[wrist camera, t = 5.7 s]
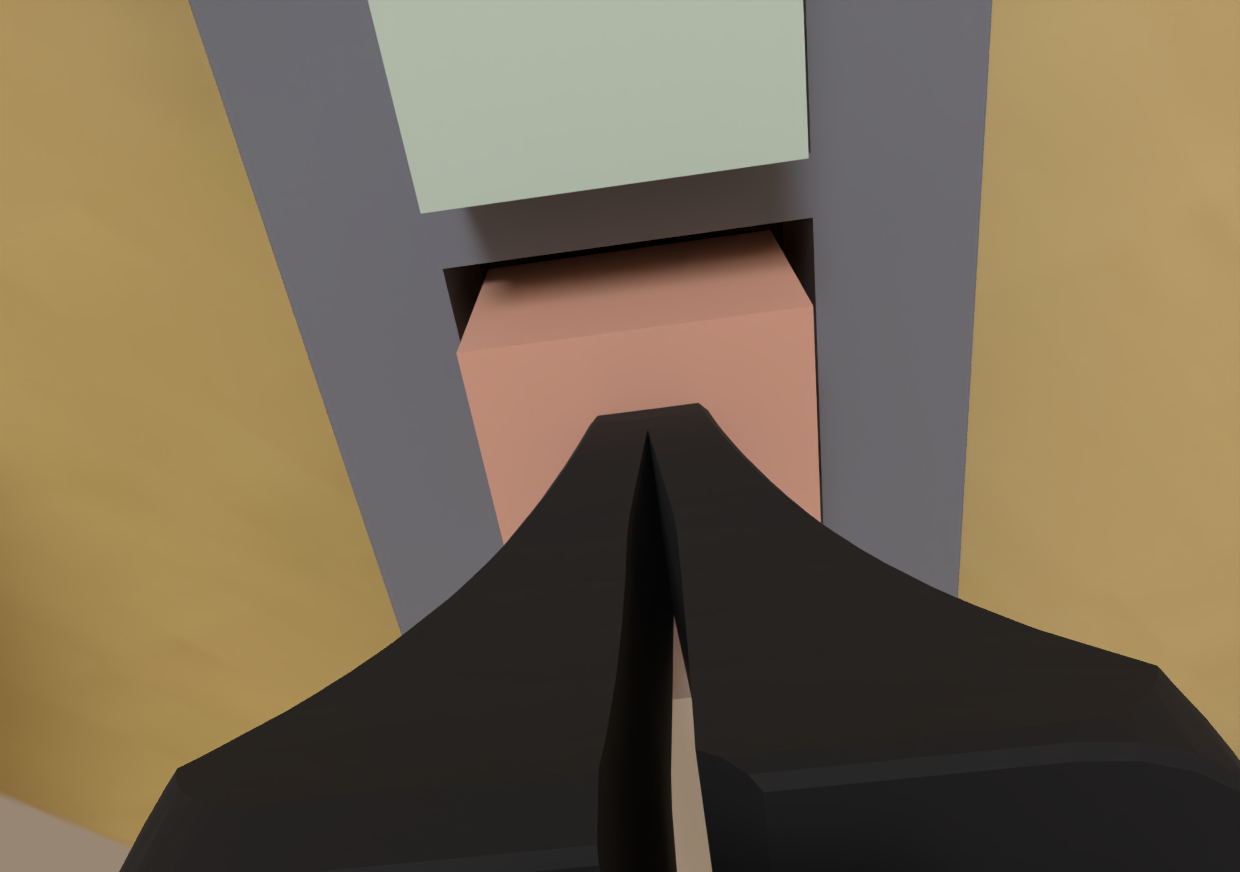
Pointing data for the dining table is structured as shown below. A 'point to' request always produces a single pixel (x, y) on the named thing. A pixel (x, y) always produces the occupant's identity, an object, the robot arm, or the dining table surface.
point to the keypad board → (466, 237)
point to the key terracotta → (642, 359)
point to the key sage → (589, 92)
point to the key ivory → (686, 776)
